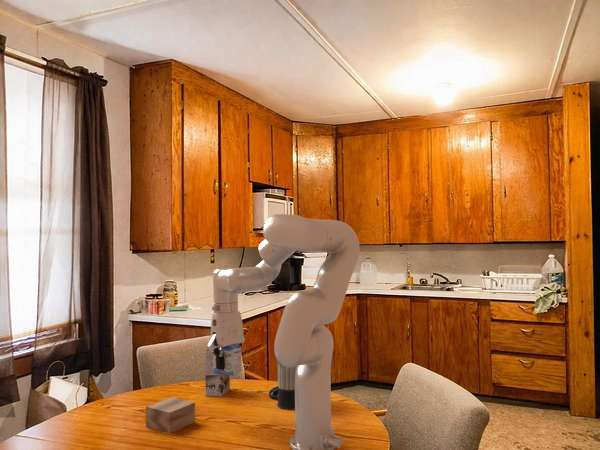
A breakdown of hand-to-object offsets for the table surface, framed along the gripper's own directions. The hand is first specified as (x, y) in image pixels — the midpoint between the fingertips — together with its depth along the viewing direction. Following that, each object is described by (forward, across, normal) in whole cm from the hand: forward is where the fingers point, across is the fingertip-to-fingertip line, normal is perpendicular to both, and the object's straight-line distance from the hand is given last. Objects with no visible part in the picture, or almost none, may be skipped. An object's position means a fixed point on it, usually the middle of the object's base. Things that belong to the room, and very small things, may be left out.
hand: (227, 366), depth 146 cm
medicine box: (+2, 0, 0) cm, 2 cm away
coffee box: (+15, +15, +22) cm, 31 cm away
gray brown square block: (+16, -14, +10) cm, 23 cm away
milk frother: (+16, +22, -4) cm, 27 cm away
